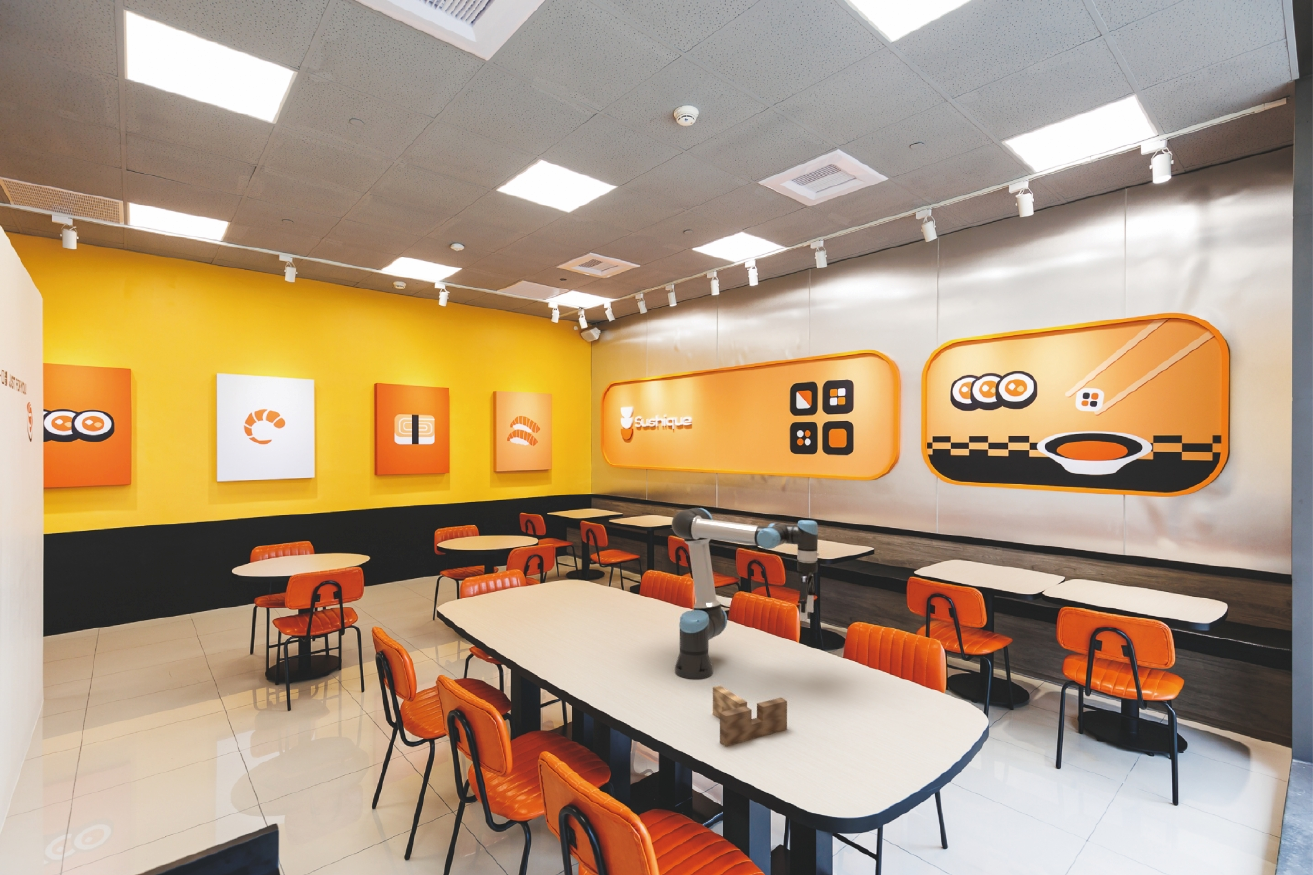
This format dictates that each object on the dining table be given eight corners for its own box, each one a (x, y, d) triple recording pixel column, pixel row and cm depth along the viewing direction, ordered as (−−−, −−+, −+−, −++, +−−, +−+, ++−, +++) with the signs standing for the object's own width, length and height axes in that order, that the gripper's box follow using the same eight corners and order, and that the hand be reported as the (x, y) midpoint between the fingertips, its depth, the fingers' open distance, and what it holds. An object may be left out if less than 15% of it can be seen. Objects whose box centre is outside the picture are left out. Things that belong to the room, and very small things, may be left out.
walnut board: (725, 746, 182) (725, 716, 182) (719, 741, 185) (719, 712, 185) (786, 729, 194) (787, 700, 194) (780, 725, 196) (780, 697, 196)
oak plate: (746, 730, 193) (747, 701, 193) (739, 732, 191) (739, 703, 191) (720, 712, 206) (720, 685, 206) (712, 713, 204) (712, 687, 204)
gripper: (811, 567, 220) (811, 626, 220) (822, 556, 243) (821, 609, 243) (791, 565, 223) (790, 623, 223) (803, 554, 246) (802, 607, 246)
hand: (806, 616), depth 233 cm, fingers open, 13 cm apart
